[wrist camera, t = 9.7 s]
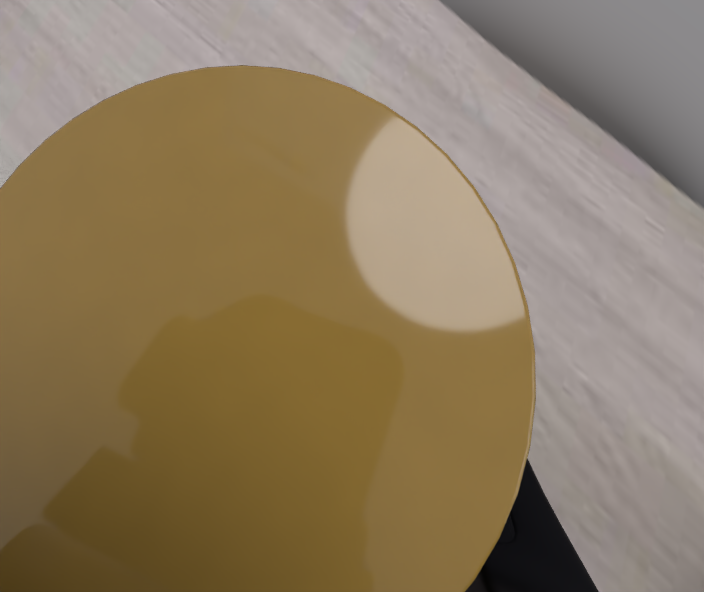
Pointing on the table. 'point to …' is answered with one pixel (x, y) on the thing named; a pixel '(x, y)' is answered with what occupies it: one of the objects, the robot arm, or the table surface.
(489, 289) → the pickle jar
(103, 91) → the table surface
